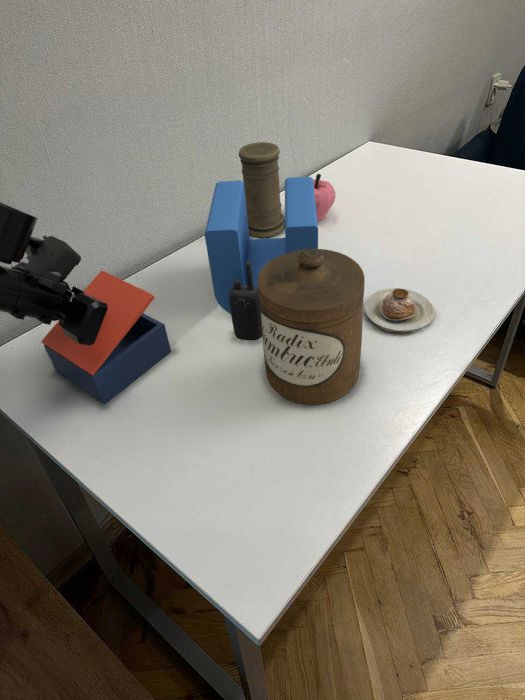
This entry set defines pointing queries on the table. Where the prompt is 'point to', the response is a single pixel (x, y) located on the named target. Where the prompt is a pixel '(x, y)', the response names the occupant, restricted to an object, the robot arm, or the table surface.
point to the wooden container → (312, 324)
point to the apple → (323, 197)
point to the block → (238, 248)
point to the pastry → (399, 310)
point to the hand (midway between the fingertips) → (99, 312)
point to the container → (262, 188)
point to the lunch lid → (119, 319)
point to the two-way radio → (246, 309)
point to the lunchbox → (119, 361)
